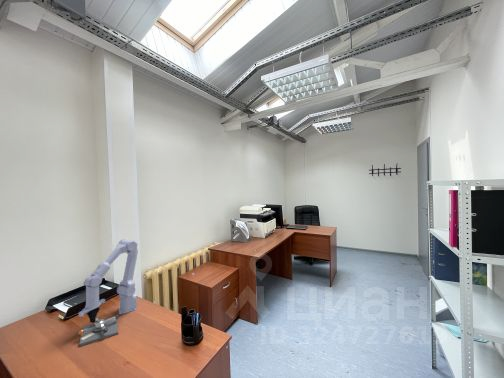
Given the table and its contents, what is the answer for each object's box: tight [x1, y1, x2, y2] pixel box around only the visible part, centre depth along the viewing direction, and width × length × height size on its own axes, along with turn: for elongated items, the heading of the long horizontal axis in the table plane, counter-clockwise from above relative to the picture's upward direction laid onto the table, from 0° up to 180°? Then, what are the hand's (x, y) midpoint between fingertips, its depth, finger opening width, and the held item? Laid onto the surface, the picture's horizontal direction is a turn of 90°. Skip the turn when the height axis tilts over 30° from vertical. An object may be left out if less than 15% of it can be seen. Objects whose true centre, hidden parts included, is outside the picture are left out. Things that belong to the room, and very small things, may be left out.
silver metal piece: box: [77, 314, 120, 336], centre depth 115 cm, size 18×18×4 cm
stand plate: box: [78, 318, 119, 348], centre depth 115 cm, size 16×16×1 cm
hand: (92, 322), depth 117 cm, fingers closed, pressing on silver metal piece
